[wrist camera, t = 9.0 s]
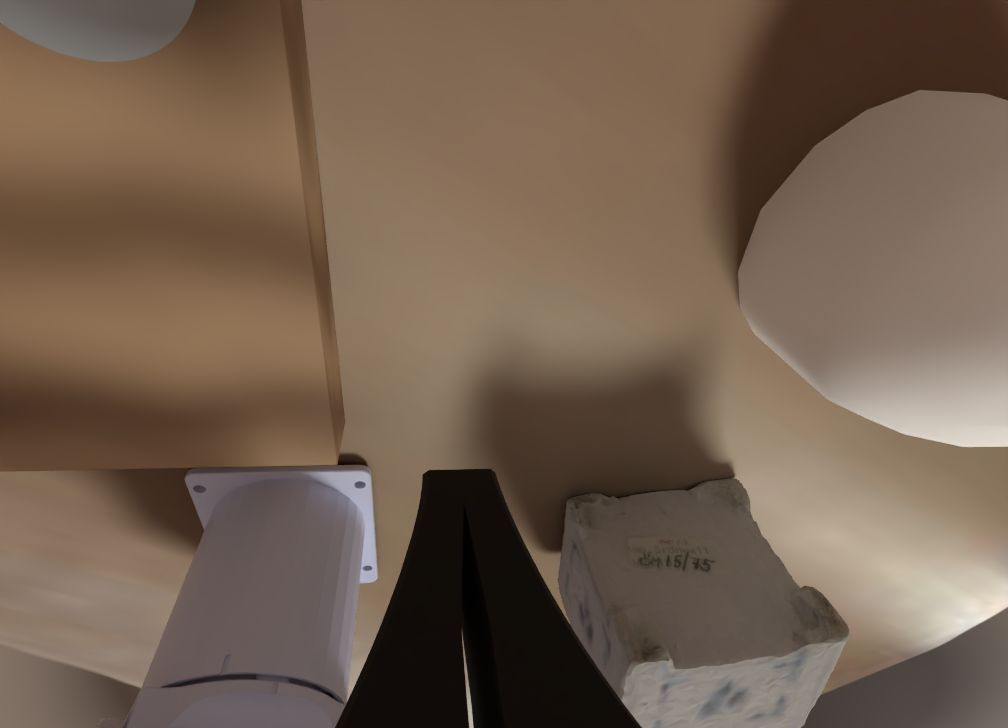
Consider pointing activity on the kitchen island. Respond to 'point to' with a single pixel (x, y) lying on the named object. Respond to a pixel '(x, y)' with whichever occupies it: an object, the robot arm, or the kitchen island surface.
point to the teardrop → (895, 267)
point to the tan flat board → (166, 253)
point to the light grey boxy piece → (694, 610)
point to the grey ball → (98, 25)
